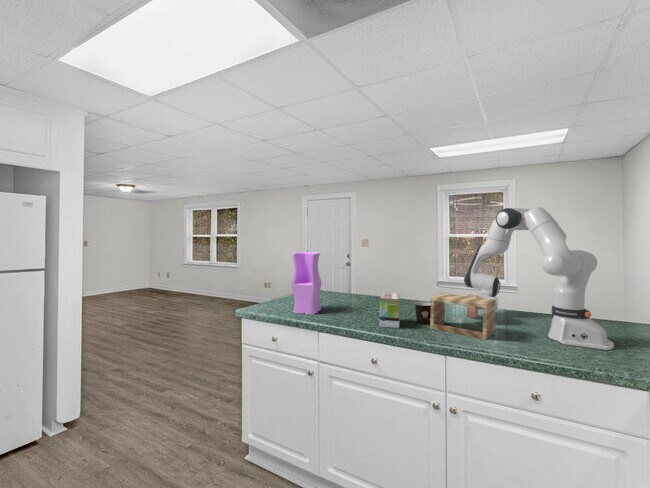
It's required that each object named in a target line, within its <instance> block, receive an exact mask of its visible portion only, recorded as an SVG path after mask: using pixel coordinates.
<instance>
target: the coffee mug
mask: <svg viewBox="0 0 650 488" xmlns="http://www.w3.org/2000/svg"><path fill="white" fill-rule="evenodd" d="M414 307H415V315H416V317H415V318H416V323H417V324H419V325H429V324H431V302H428V301H427V302H426V301H418V302H415V303H414Z"/></svg>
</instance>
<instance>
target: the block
mask: <svg viewBox="0 0 650 488" xmlns="http://www.w3.org/2000/svg"><path fill="white" fill-rule="evenodd" d="M466 296H470V297H478V295H474V294H473V293H470V294H467V295H466ZM478 316H479V309H478V308H477V307H475V306H468V305H467V306H466V317H467V318H473V319H476V318H477V317H478Z"/></svg>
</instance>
